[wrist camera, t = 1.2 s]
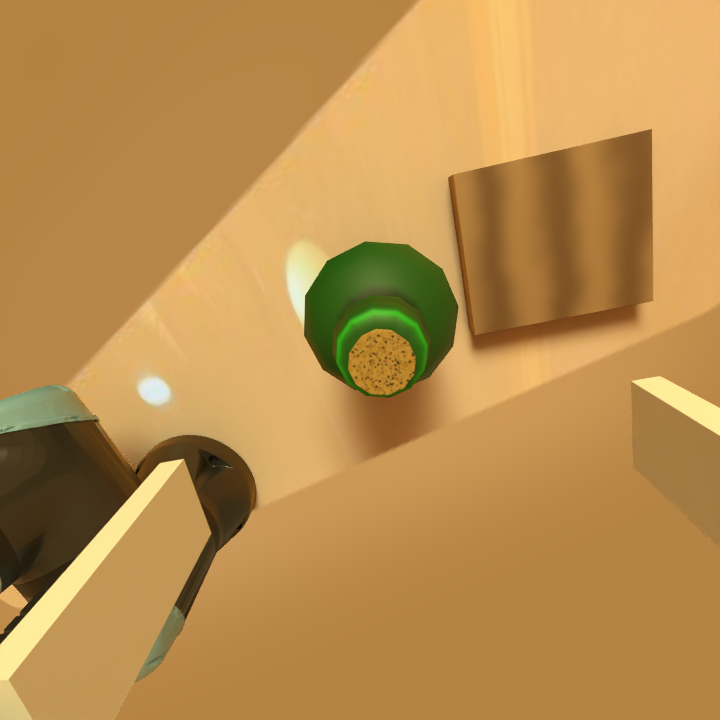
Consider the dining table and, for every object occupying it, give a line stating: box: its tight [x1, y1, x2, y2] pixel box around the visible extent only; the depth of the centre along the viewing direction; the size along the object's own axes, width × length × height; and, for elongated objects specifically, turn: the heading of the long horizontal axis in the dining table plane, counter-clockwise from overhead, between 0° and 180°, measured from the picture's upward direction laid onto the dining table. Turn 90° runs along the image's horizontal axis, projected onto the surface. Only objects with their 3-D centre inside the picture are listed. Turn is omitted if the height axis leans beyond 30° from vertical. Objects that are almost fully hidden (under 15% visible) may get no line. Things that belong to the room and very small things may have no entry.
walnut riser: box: [449, 129, 653, 335], centre depth 44 cm, size 18×16×3 cm
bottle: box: [304, 242, 458, 397], centre depth 34 cm, size 11×11×28 cm
